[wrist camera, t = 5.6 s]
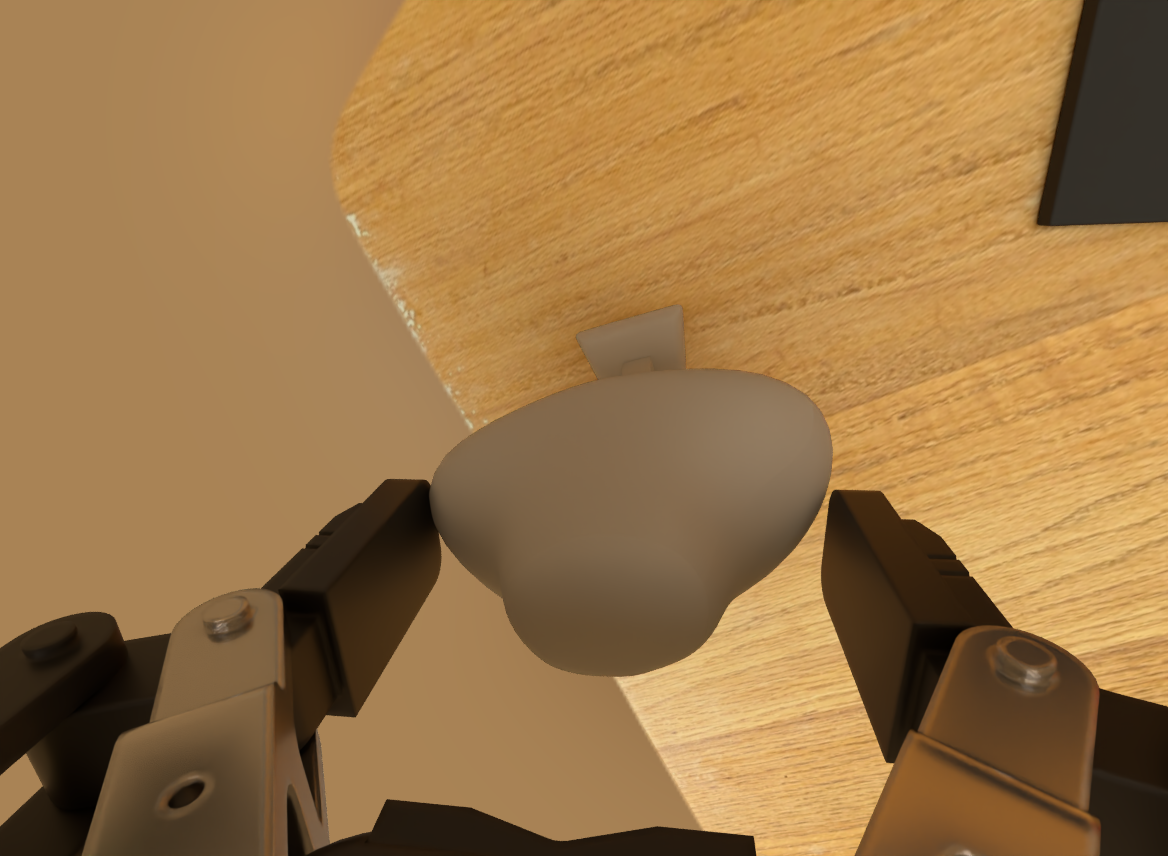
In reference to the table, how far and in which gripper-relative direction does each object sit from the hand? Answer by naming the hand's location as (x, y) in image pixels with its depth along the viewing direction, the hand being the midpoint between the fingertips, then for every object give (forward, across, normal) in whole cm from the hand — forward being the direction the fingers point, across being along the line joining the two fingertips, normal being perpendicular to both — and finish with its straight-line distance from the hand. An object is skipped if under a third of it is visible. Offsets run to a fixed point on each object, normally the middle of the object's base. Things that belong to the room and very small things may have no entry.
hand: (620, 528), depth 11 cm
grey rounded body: (+9, 0, 0) cm, 9 cm away
